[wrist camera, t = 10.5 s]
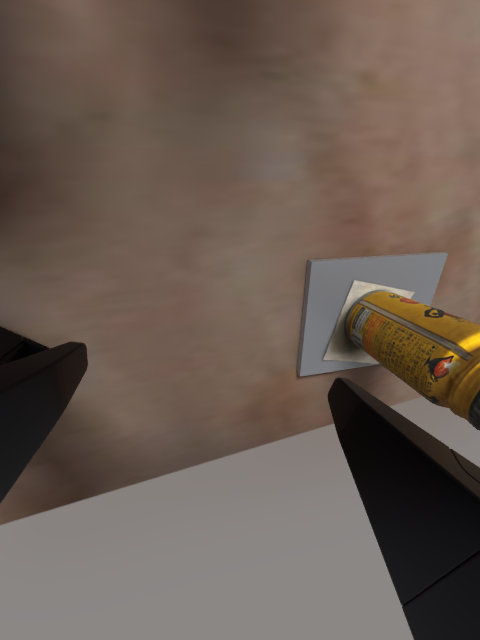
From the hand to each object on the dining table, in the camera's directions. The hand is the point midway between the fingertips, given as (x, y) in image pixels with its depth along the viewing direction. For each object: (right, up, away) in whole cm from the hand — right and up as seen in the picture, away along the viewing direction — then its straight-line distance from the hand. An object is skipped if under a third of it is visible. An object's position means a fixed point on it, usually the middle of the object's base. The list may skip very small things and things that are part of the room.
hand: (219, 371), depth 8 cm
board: (+14, +2, +16) cm, 21 cm away
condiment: (+14, +1, +15) cm, 21 cm away
